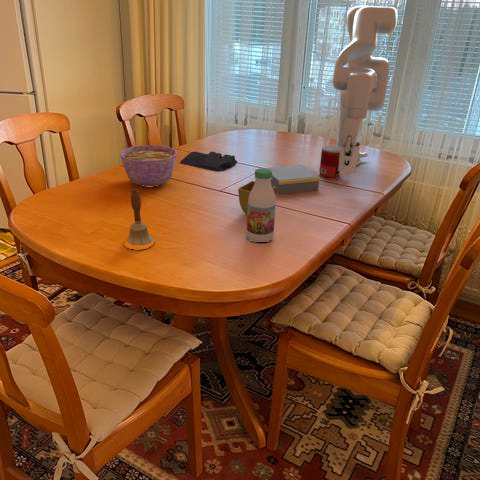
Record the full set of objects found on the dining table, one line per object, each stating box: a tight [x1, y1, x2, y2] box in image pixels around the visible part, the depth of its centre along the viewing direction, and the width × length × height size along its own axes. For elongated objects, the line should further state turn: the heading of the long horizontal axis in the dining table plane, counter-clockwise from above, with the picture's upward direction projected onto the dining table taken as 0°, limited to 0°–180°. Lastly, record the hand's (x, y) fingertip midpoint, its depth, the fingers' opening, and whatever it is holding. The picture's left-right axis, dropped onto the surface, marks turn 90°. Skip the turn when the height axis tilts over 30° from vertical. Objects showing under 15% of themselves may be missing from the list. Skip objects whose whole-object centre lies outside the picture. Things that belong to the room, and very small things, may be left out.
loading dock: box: [264, 164, 321, 195], centre depth 168 cm, size 16×15×5 cm
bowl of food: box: [119, 144, 178, 186], centre depth 164 cm, size 20×20×12 cm
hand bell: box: [126, 188, 154, 246], centre depth 121 cm, size 8×8×16 cm
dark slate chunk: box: [179, 151, 238, 173], centre depth 189 cm, size 15×22×5 cm
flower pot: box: [237, 180, 275, 215], centre depth 143 cm, size 9×9×9 cm
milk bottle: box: [246, 167, 277, 243], centre depth 125 cm, size 8×8×20 cm
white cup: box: [339, 142, 361, 175], centre depth 158 cm, size 7×7×10 cm
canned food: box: [318, 145, 341, 179], centre depth 178 cm, size 8×8×11 cm
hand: (347, 164), depth 159 cm, fingers closed on white cup, 2 cm apart
